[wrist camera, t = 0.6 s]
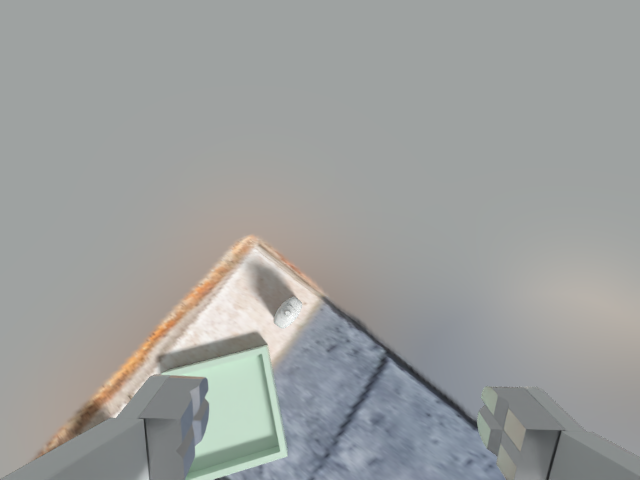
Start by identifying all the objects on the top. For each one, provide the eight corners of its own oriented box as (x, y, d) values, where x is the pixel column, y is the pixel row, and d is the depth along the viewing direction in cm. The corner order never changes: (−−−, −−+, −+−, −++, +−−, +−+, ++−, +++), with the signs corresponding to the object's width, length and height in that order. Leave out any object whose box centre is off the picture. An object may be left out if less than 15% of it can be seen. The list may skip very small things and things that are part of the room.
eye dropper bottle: (270, 306, 58) (265, 306, 46) (297, 295, 59) (299, 292, 47) (278, 328, 57) (275, 334, 46) (305, 316, 58) (309, 319, 46)
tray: (287, 448, 53) (287, 456, 50) (182, 480, 51) (176, 490, 48) (267, 344, 56) (266, 346, 54) (168, 369, 54) (161, 373, 51)
